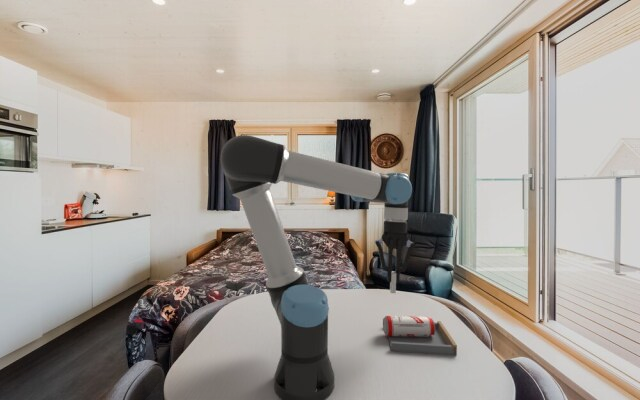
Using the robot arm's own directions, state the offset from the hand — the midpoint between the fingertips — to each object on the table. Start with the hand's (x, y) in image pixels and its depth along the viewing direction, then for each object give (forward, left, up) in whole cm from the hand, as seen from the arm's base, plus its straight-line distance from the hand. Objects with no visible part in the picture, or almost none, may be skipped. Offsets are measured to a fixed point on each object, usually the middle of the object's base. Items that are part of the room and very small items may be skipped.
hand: (392, 291), depth 95 cm
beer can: (+1, +3, -12) cm, 12 cm away
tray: (0, -8, -16) cm, 18 cm away
